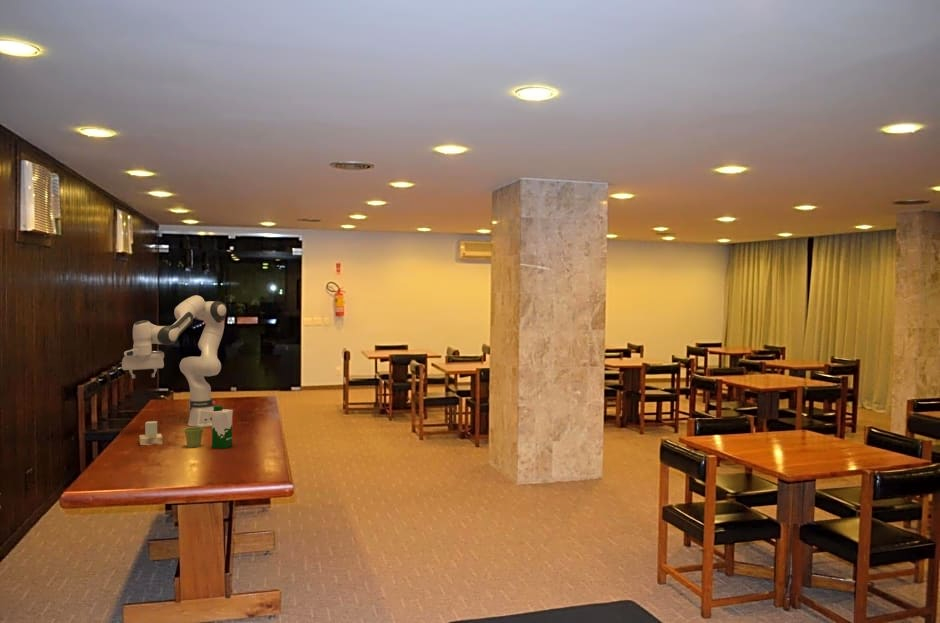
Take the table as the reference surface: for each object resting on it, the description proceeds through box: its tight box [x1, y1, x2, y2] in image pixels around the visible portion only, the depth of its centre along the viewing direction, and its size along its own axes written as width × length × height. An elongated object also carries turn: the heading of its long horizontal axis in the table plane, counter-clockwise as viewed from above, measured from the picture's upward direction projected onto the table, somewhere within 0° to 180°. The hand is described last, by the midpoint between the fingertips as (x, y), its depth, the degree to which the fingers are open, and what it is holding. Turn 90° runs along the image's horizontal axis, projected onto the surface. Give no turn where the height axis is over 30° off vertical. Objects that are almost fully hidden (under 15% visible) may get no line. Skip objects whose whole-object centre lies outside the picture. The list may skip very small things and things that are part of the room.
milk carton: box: [211, 405, 234, 450], centre depth 348 cm, size 9×9×20 cm
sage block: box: [144, 420, 158, 437], centre depth 357 cm, size 5×5×7 cm
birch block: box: [138, 433, 163, 446], centre depth 357 cm, size 10×10×4 cm
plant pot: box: [183, 426, 205, 448], centre depth 350 cm, size 9×9×9 cm
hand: (143, 377), depth 374 cm, fingers open, 8 cm apart
